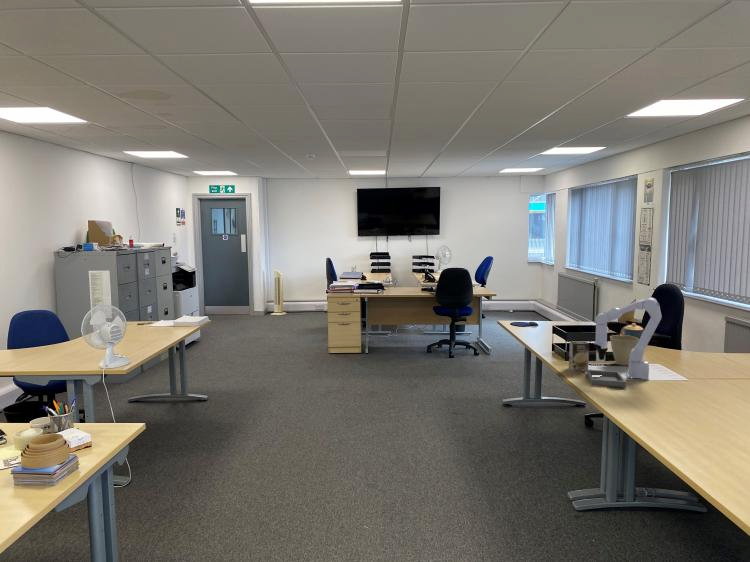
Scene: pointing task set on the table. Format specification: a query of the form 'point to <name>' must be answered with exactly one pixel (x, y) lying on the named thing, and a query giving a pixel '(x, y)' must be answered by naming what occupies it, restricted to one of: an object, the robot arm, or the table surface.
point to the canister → (633, 331)
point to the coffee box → (578, 355)
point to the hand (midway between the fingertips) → (600, 358)
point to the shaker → (598, 357)
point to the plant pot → (622, 347)
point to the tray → (606, 378)
